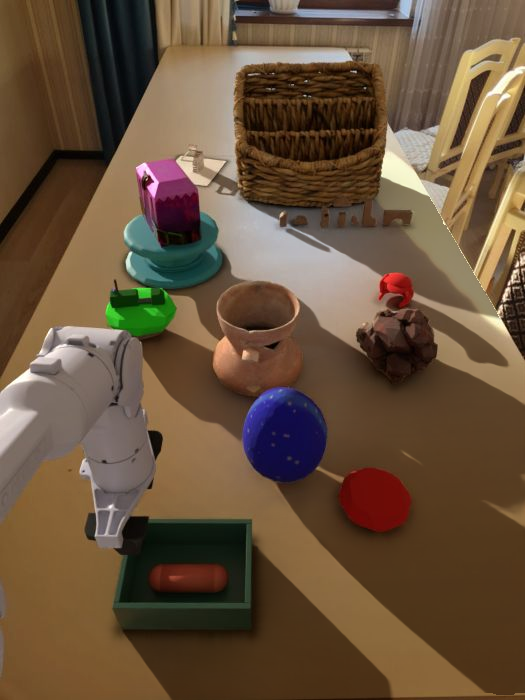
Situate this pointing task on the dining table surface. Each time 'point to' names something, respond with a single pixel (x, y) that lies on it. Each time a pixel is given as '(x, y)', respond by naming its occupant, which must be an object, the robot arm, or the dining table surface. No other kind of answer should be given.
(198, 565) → the red capsule pill
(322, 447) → the ornament
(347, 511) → the gemstone
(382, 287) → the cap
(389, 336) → the mineral specimen
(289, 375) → the ceramic jug
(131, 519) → the robot arm
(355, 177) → the basket
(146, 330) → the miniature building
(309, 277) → the dining table surface
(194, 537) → the bin
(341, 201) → the wooden blocks
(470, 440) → the dining table surface
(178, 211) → the decorative object
